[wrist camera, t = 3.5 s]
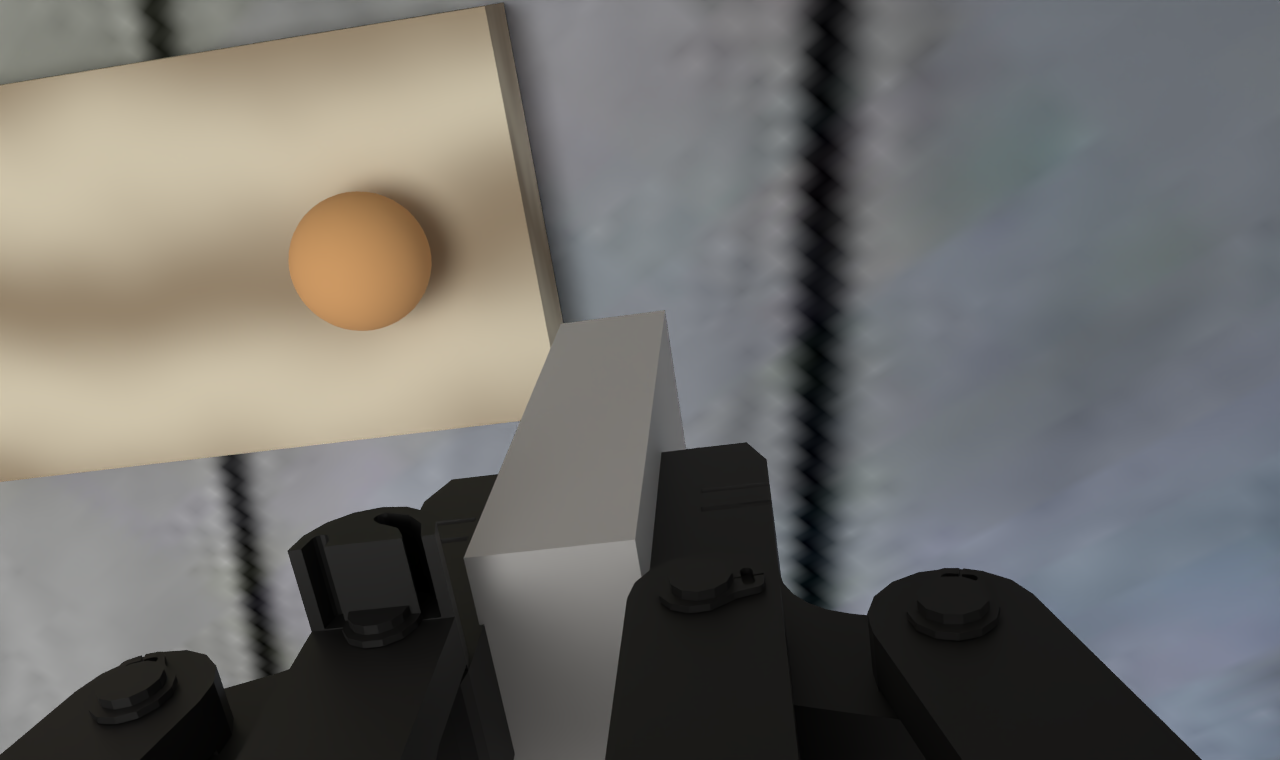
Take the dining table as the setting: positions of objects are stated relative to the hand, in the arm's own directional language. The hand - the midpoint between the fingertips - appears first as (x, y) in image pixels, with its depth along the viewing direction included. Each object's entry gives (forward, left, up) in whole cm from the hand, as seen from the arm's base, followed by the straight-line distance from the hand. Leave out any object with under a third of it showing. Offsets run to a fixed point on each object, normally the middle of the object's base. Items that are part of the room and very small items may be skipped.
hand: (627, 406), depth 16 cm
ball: (0, -8, -12) cm, 14 cm away
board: (0, -19, -16) cm, 25 cm away
